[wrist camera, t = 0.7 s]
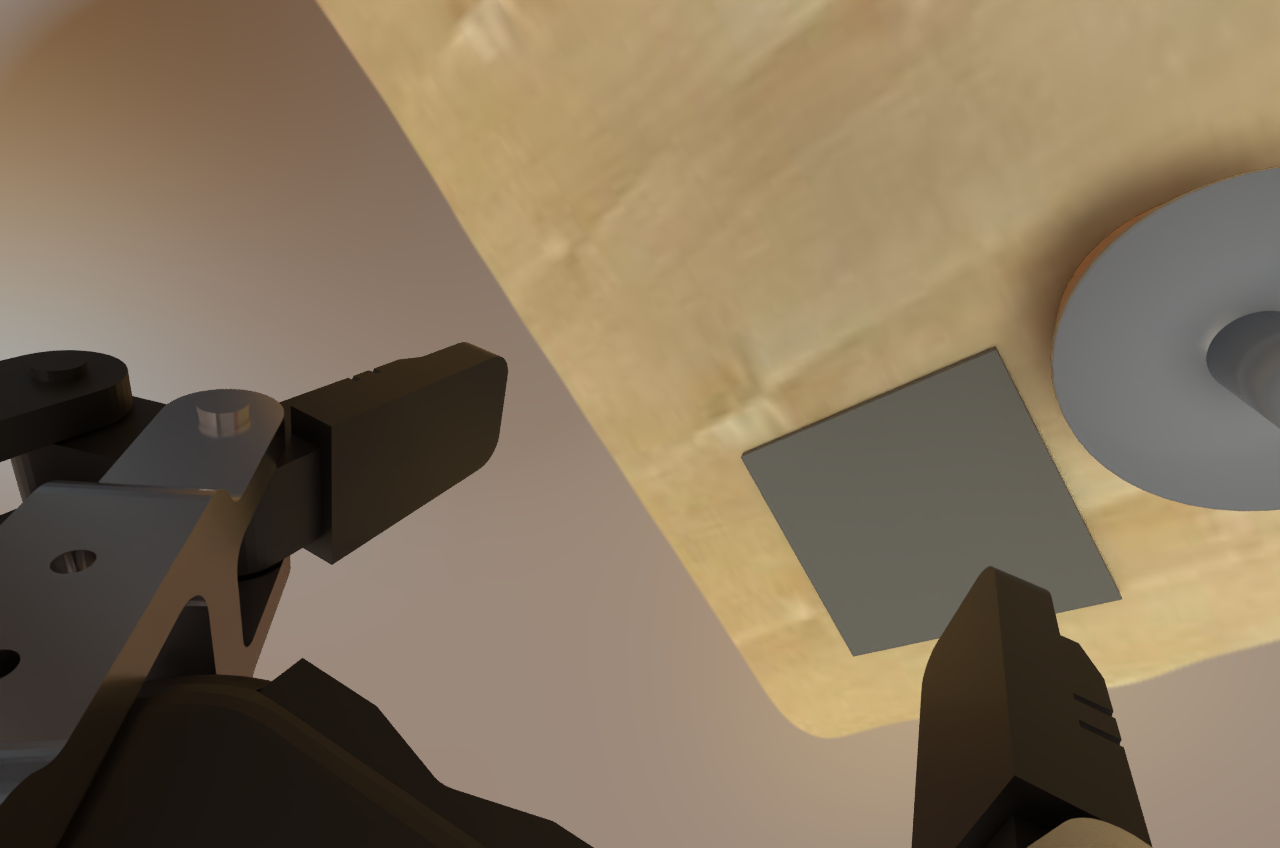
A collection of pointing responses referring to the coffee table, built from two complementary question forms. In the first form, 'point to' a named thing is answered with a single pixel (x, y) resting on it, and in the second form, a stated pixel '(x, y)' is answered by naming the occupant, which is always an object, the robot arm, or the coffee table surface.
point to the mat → (927, 506)
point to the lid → (1182, 348)
